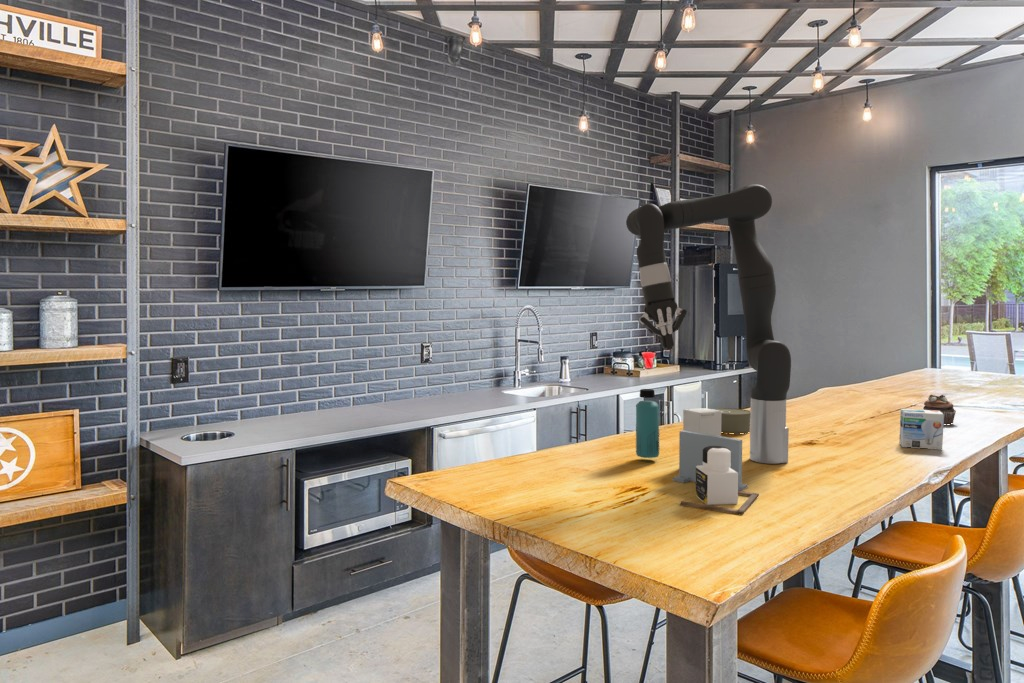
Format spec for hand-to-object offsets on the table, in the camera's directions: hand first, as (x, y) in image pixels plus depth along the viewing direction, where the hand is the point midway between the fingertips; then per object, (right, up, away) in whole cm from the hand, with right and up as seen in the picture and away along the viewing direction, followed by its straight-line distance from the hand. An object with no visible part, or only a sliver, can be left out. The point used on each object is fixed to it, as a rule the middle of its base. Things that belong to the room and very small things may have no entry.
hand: (668, 349), depth 175 cm
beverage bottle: (-3, -31, +15) cm, 35 cm away
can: (+34, -28, +55) cm, 70 cm away
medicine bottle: (+6, -34, -22) cm, 41 cm away
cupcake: (+110, -27, +65) cm, 131 cm away
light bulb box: (+82, -30, +29) cm, 92 cm away
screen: (+8, -33, -10) cm, 35 cm away
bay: (+6, -33, -22) cm, 41 cm away
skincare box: (+10, -32, +6) cm, 34 cm away
